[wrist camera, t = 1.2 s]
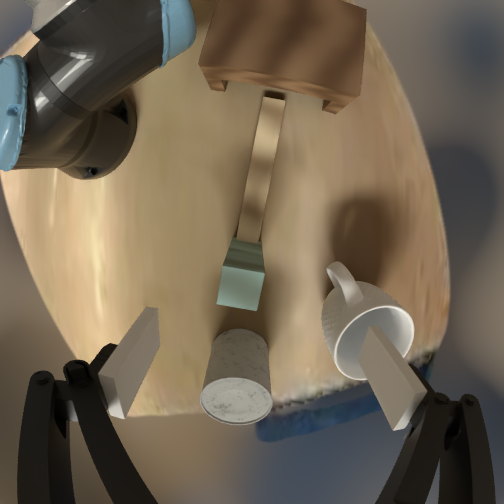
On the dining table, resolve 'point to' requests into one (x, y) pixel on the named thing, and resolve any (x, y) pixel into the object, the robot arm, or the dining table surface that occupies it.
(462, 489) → the robot arm
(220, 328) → the dining table surface
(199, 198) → the dining table surface
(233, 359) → the speckled white cylinder
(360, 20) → the wooden bench
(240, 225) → the sweep tool
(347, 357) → the mug
